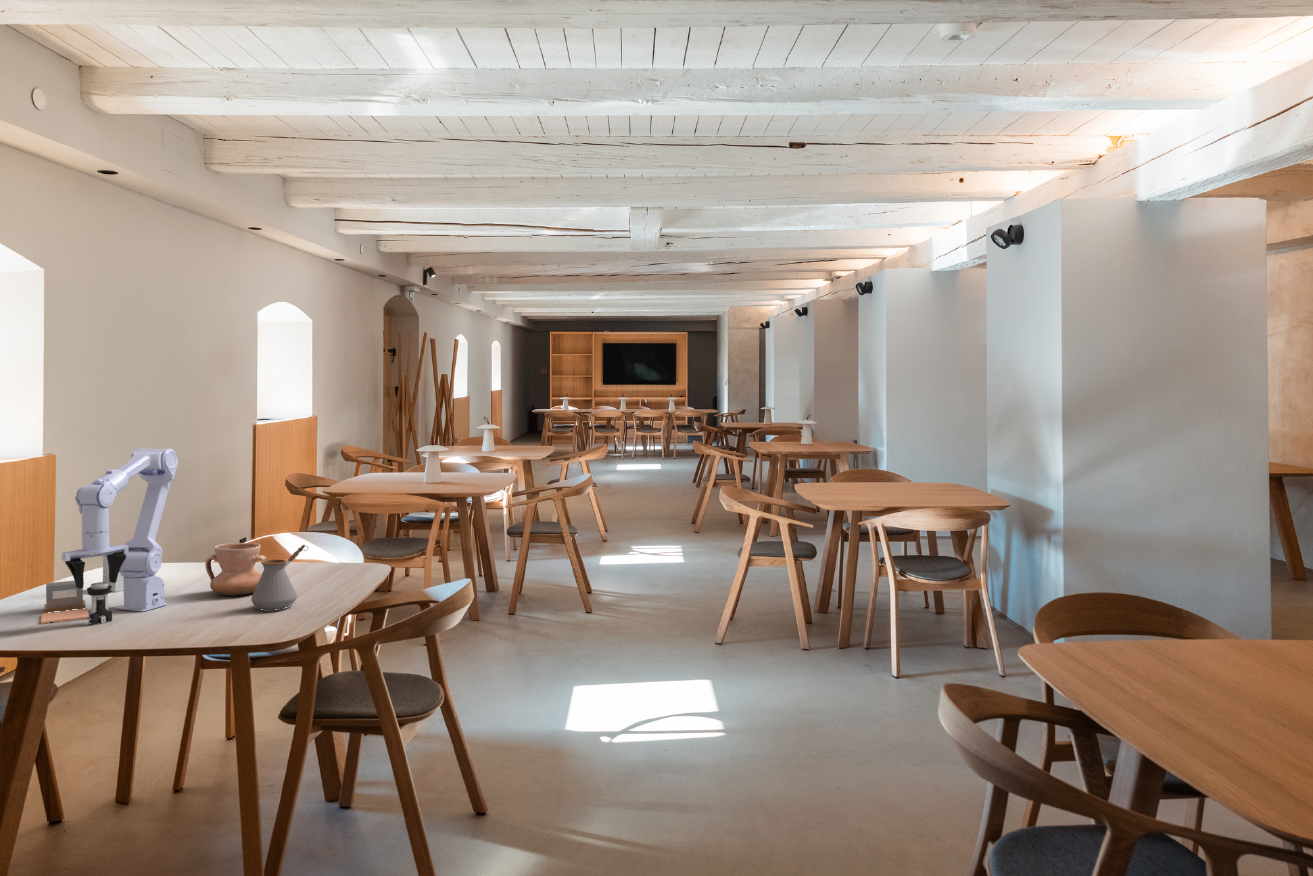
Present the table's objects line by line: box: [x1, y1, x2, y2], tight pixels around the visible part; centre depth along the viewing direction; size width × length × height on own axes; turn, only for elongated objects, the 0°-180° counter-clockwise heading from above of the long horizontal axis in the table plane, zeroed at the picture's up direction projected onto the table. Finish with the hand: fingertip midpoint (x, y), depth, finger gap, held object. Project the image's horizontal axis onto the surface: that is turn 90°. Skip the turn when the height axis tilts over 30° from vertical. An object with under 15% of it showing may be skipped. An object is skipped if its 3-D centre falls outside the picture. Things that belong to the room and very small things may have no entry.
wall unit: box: [43, 580, 86, 613], centre depth 226 cm, size 6×9×7 cm, turn 125°
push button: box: [82, 581, 113, 625], centre depth 213 cm, size 7×5×10 cm
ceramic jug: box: [204, 542, 267, 597], centre depth 247 cm, size 18×14×14 cm
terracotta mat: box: [40, 607, 89, 625], centre depth 218 cm, size 10×10×1 cm
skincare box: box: [102, 555, 124, 593], centre depth 249 cm, size 6×4×12 cm
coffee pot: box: [250, 544, 309, 610], centre depth 235 cm, size 21×12×15 cm, turn 172°
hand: (96, 585), depth 212 cm, fingers open, 7 cm apart
